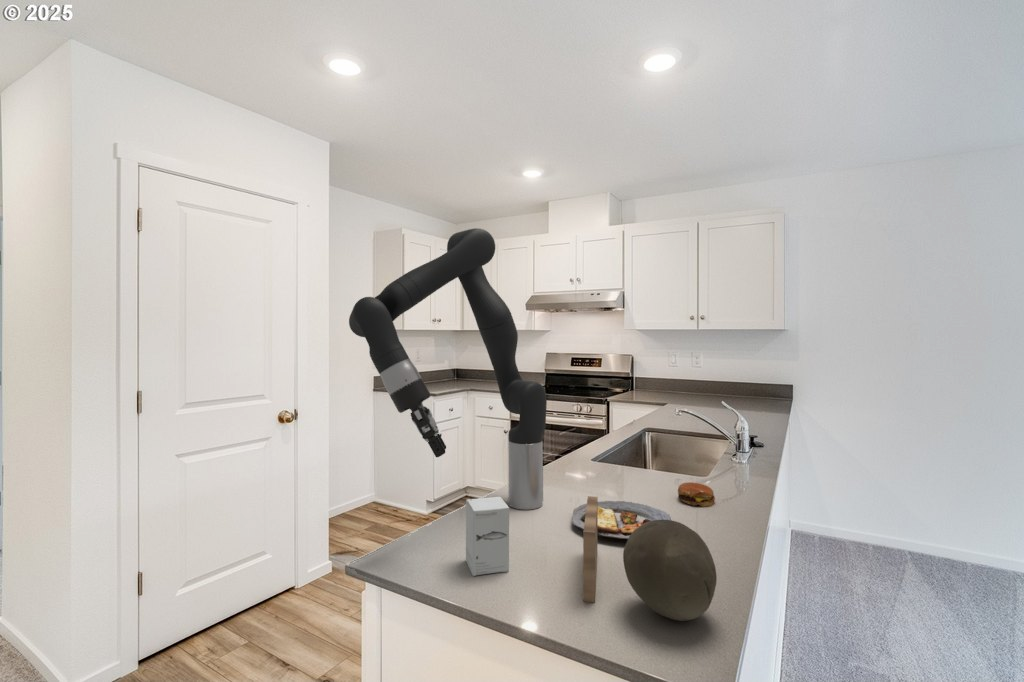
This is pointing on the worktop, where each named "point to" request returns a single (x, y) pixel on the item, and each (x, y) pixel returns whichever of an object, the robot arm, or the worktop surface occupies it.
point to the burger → (696, 494)
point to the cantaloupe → (670, 569)
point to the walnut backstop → (590, 549)
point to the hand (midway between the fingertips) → (442, 452)
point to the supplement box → (487, 535)
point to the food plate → (609, 522)
